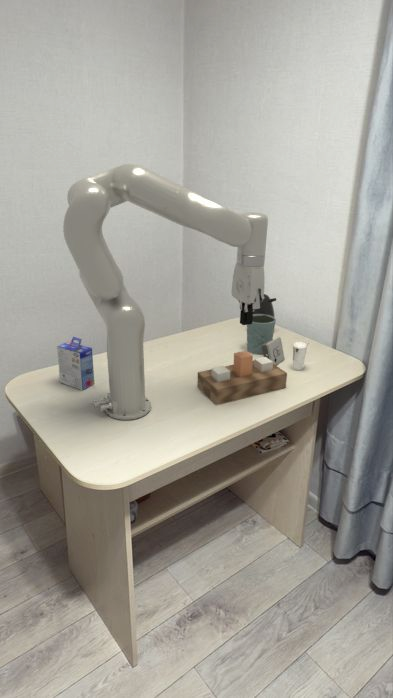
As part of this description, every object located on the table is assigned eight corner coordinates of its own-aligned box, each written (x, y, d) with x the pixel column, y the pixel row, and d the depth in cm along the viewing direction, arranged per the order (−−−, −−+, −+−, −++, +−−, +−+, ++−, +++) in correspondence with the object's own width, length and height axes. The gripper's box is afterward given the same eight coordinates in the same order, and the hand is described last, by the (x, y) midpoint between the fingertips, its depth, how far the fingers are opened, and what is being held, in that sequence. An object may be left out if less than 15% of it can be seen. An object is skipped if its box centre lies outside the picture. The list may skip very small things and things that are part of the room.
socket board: (216, 405, 133) (217, 389, 131) (197, 387, 142) (197, 372, 140) (285, 387, 143) (287, 373, 141) (263, 371, 152) (264, 357, 150)
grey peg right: (260, 383, 143) (262, 364, 140) (253, 378, 146) (254, 359, 143) (271, 380, 144) (273, 361, 142) (264, 375, 148) (265, 356, 145)
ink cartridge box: (96, 383, 143) (92, 340, 138) (83, 391, 139) (78, 346, 133) (72, 375, 148) (68, 333, 142) (59, 382, 144) (54, 338, 138)
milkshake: (301, 373, 152) (304, 345, 148) (287, 367, 155) (290, 340, 151) (309, 369, 154) (312, 341, 150) (296, 364, 158) (299, 336, 154)
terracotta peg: (240, 378, 138) (241, 358, 136) (233, 372, 141) (234, 353, 139) (251, 375, 140) (252, 355, 137) (244, 370, 143) (245, 350, 140)
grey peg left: (217, 393, 136) (218, 373, 134) (211, 388, 140) (211, 368, 137) (229, 391, 138) (230, 371, 136) (222, 385, 141) (223, 365, 139)
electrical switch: (272, 368, 155) (272, 344, 152) (260, 365, 158) (260, 342, 155) (284, 360, 161) (284, 337, 158) (273, 357, 164) (272, 335, 161)
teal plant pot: (243, 353, 166) (245, 321, 161) (246, 342, 175) (248, 312, 170) (272, 356, 164) (274, 324, 159) (274, 345, 173) (276, 314, 168)
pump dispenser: (268, 337, 180) (271, 299, 173) (243, 332, 184) (245, 295, 178) (278, 329, 188) (281, 293, 182) (254, 324, 192) (256, 288, 186)
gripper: (224, 255, 132) (221, 317, 139) (254, 267, 119) (249, 334, 127) (247, 253, 135) (243, 314, 142) (278, 265, 123) (271, 330, 130)
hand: (245, 323), depth 134 cm, fingers closed
